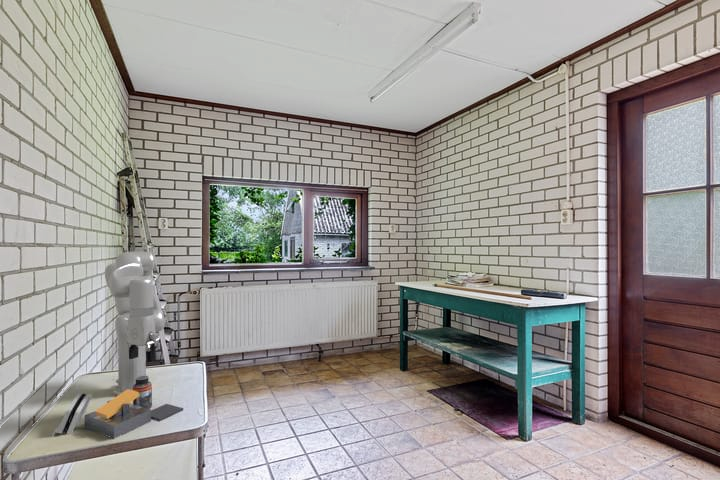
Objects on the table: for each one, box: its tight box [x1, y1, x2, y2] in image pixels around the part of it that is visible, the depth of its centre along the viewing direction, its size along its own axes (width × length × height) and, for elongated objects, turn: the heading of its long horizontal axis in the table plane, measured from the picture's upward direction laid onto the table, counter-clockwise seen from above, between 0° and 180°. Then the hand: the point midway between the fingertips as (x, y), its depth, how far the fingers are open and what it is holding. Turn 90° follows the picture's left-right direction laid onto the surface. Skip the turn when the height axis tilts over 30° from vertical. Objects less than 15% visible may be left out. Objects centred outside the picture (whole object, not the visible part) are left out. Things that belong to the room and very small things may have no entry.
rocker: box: [95, 389, 140, 419], centre depth 123 cm, size 6×11×2 cm, turn 154°
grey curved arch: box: [51, 392, 93, 437], centre depth 125 cm, size 17×5×10 cm, turn 23°
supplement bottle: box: [132, 375, 153, 409], centre depth 135 cm, size 6×6×11 cm
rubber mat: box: [151, 403, 184, 422], centre depth 131 cm, size 9×9×1 cm
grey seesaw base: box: [83, 399, 152, 439], centre depth 123 cm, size 16×12×7 cm
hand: (142, 359), depth 135 cm, fingers open, 9 cm apart
